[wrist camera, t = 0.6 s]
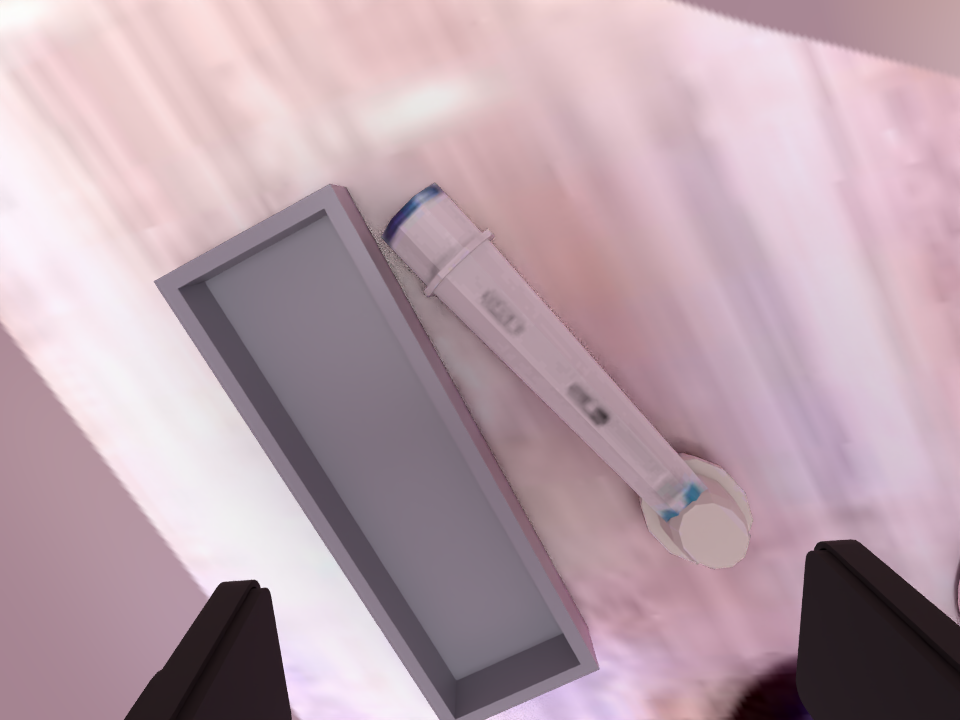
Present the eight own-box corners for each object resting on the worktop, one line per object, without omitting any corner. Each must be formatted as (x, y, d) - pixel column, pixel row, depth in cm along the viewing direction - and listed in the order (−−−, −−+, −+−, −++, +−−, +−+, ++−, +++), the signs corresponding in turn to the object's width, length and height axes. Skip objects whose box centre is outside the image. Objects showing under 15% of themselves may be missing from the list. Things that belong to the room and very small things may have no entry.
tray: (587, 627, 37) (599, 669, 33) (451, 687, 38) (449, 734, 34) (345, 187, 30) (330, 183, 27) (188, 273, 31) (153, 281, 28)
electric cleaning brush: (442, 165, 26) (809, 558, 28) (459, 186, 33) (754, 504, 34) (361, 246, 27) (721, 625, 28) (394, 252, 34) (685, 560, 35)
